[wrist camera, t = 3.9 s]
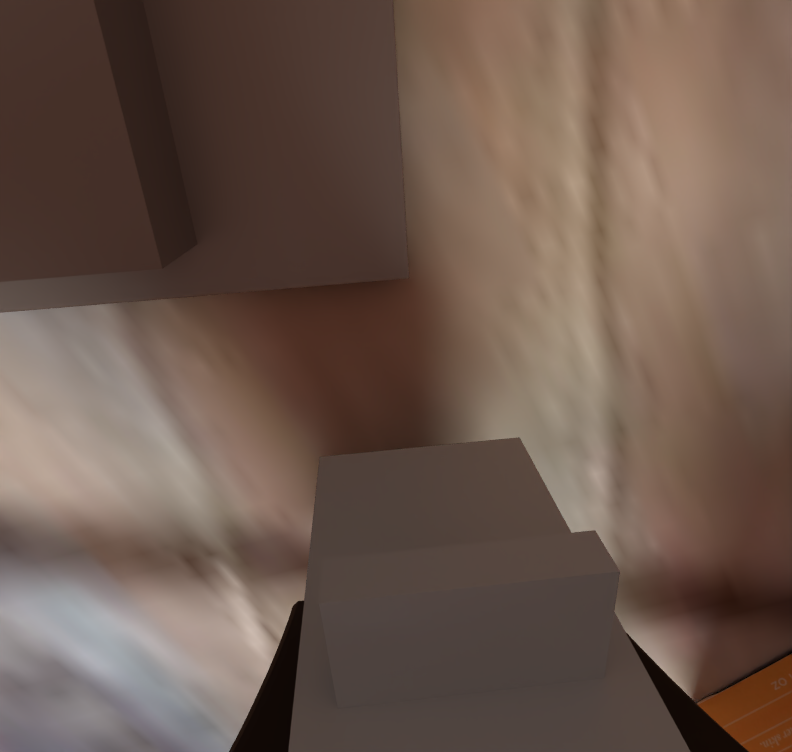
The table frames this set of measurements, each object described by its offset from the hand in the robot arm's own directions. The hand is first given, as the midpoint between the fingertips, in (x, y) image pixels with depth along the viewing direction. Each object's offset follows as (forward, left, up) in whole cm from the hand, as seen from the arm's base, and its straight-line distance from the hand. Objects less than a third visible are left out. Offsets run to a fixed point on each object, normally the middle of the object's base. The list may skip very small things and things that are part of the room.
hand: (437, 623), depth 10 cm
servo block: (0, 0, -2) cm, 2 cm away
